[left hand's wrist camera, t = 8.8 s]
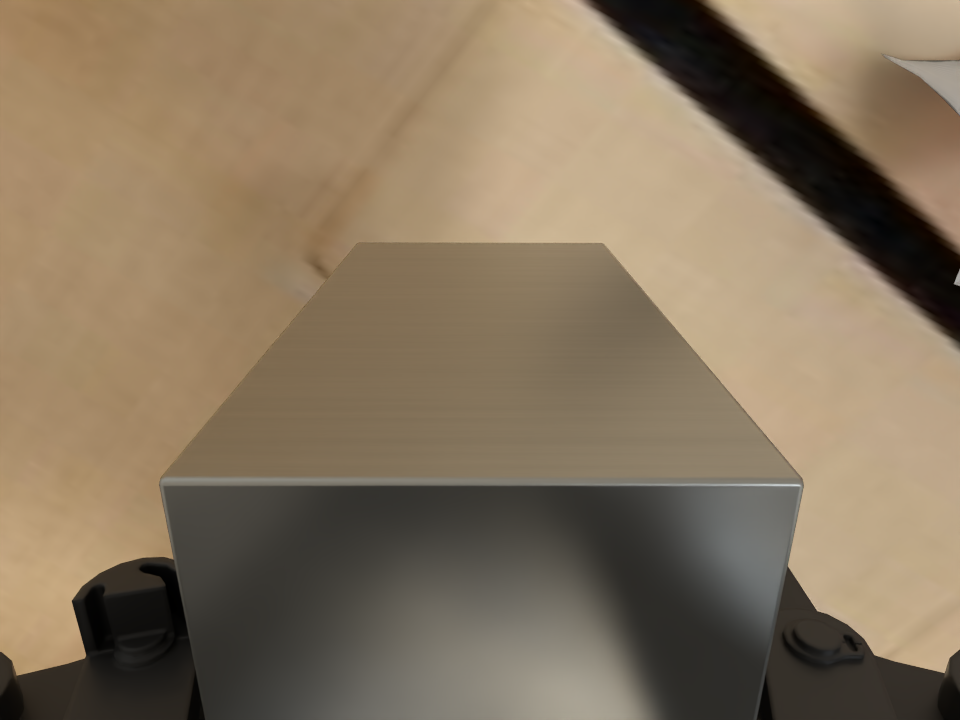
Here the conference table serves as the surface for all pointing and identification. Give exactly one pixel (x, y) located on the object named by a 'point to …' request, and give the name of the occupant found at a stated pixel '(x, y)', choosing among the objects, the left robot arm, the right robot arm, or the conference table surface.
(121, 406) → the conference table surface
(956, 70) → the fish
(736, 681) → the bar
